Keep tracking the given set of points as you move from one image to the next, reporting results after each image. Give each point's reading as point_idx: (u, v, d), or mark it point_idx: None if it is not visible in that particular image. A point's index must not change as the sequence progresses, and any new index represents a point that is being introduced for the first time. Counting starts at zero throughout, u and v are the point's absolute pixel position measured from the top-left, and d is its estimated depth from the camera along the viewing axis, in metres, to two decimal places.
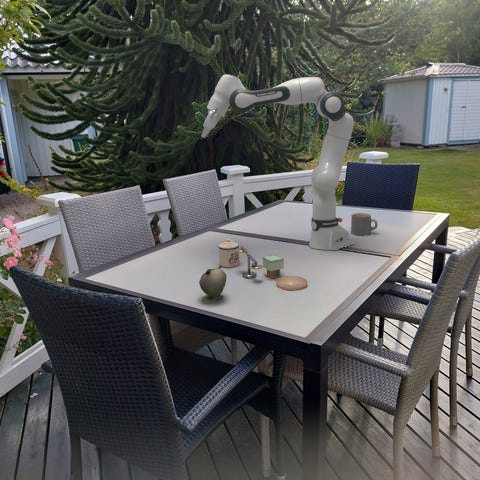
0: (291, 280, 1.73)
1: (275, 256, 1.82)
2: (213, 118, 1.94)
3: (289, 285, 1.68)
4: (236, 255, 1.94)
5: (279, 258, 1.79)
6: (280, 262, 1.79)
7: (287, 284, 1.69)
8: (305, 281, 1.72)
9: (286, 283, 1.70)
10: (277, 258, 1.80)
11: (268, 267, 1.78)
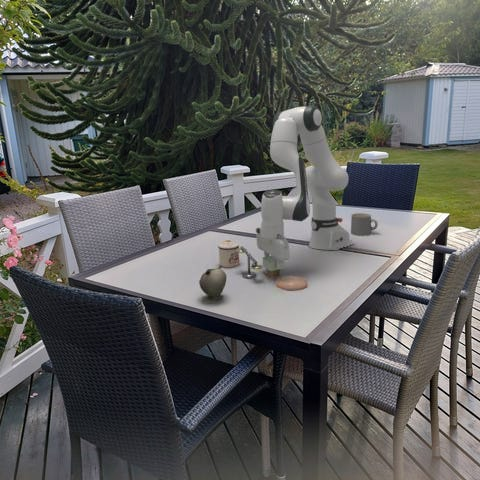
0: (291, 280, 1.73)
1: None
2: (288, 246, 1.71)
3: (289, 285, 1.68)
4: (236, 255, 1.94)
5: None
6: None
7: (287, 284, 1.69)
8: (305, 281, 1.72)
9: (286, 283, 1.70)
10: None
11: (268, 267, 1.78)
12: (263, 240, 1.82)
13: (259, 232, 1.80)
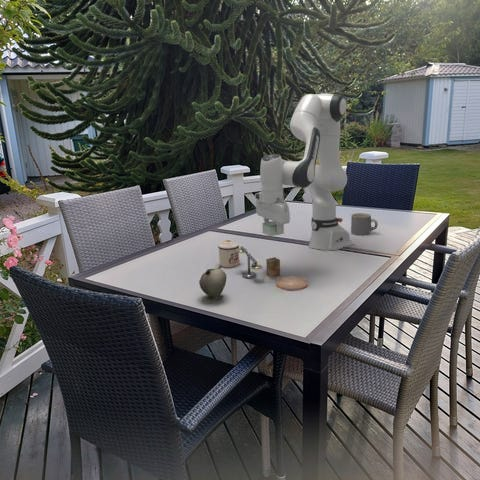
0: (291, 280, 1.73)
1: (275, 222, 1.81)
2: (288, 210, 1.69)
3: (289, 285, 1.68)
4: (236, 255, 1.94)
5: None
6: None
7: (287, 284, 1.69)
8: (305, 281, 1.72)
9: (286, 283, 1.70)
10: None
11: (268, 232, 1.77)
12: (263, 206, 1.81)
13: (258, 197, 1.78)
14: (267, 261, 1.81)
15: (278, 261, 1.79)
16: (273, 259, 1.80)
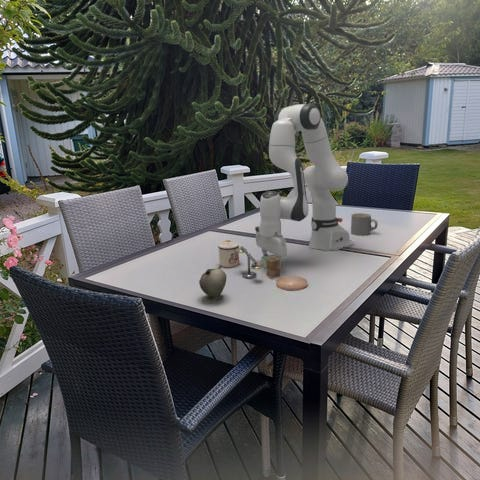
0: (291, 280, 1.73)
1: (273, 255, 1.94)
2: (285, 244, 1.82)
3: (289, 285, 1.68)
4: (236, 255, 1.94)
5: None
6: None
7: (287, 284, 1.69)
8: (305, 281, 1.72)
9: (286, 283, 1.70)
10: (275, 257, 1.91)
11: None
12: (262, 238, 1.93)
13: (258, 230, 1.91)
14: (267, 261, 1.81)
15: (278, 261, 1.79)
16: (273, 259, 1.80)
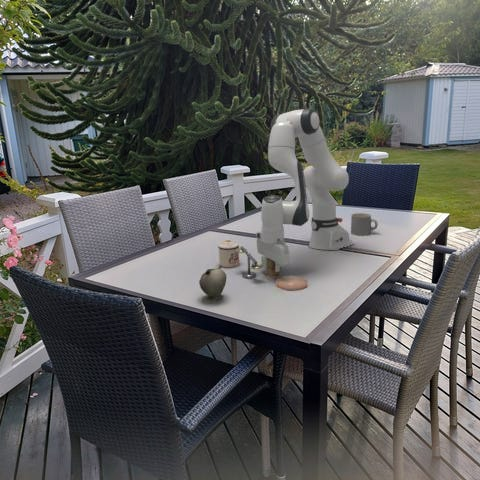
0: (291, 280, 1.73)
1: None
2: (288, 251, 1.71)
3: (289, 285, 1.68)
4: (236, 255, 1.94)
5: None
6: None
7: (287, 284, 1.69)
8: (305, 281, 1.72)
9: (286, 283, 1.70)
10: None
11: None
12: (263, 245, 1.83)
13: (259, 237, 1.80)
14: (267, 261, 1.81)
15: None
16: None
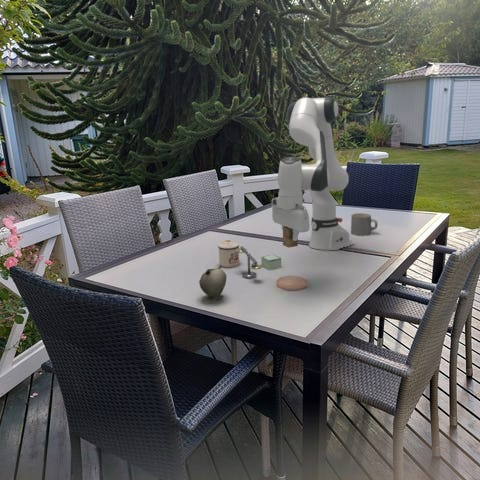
0: (291, 280, 1.73)
1: (273, 255, 1.94)
2: (307, 217, 1.57)
3: (289, 285, 1.68)
4: (236, 255, 1.94)
5: (277, 257, 1.91)
6: (278, 261, 1.90)
7: (287, 284, 1.69)
8: (305, 281, 1.72)
9: (286, 283, 1.70)
10: (275, 257, 1.91)
11: (267, 266, 1.90)
12: (280, 212, 1.68)
13: (275, 203, 1.66)
14: (284, 229, 1.67)
15: None
16: None
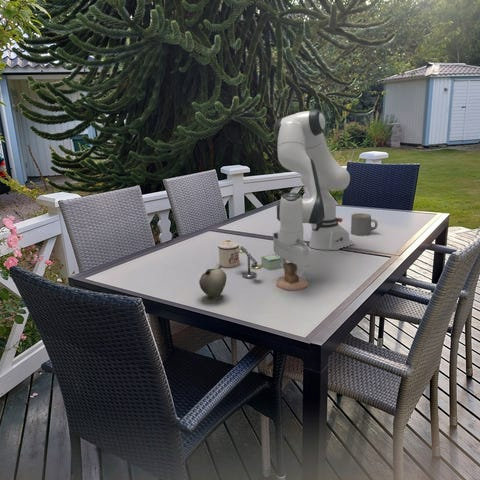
0: None
1: (273, 255, 1.94)
2: (308, 253, 1.60)
3: (289, 285, 1.68)
4: (236, 255, 1.94)
5: (277, 257, 1.91)
6: (278, 261, 1.90)
7: (287, 284, 1.69)
8: (305, 281, 1.72)
9: (286, 283, 1.70)
10: (275, 257, 1.91)
11: (267, 266, 1.90)
12: (281, 245, 1.72)
13: (277, 237, 1.70)
14: (285, 266, 1.71)
15: None
16: (291, 264, 1.70)
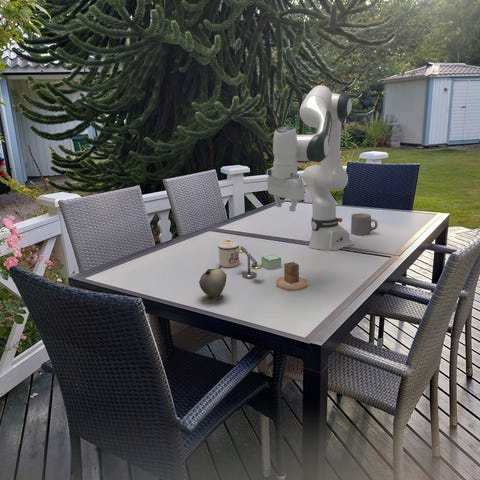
0: None
1: (273, 255, 1.94)
2: (302, 186, 1.57)
3: (289, 285, 1.68)
4: (236, 255, 1.94)
5: (277, 257, 1.91)
6: (278, 261, 1.90)
7: (287, 284, 1.69)
8: (305, 281, 1.72)
9: (286, 283, 1.70)
10: (275, 257, 1.91)
11: (267, 266, 1.90)
12: (275, 183, 1.69)
13: (270, 173, 1.67)
14: (285, 266, 1.71)
15: (297, 266, 1.69)
16: (291, 264, 1.70)
